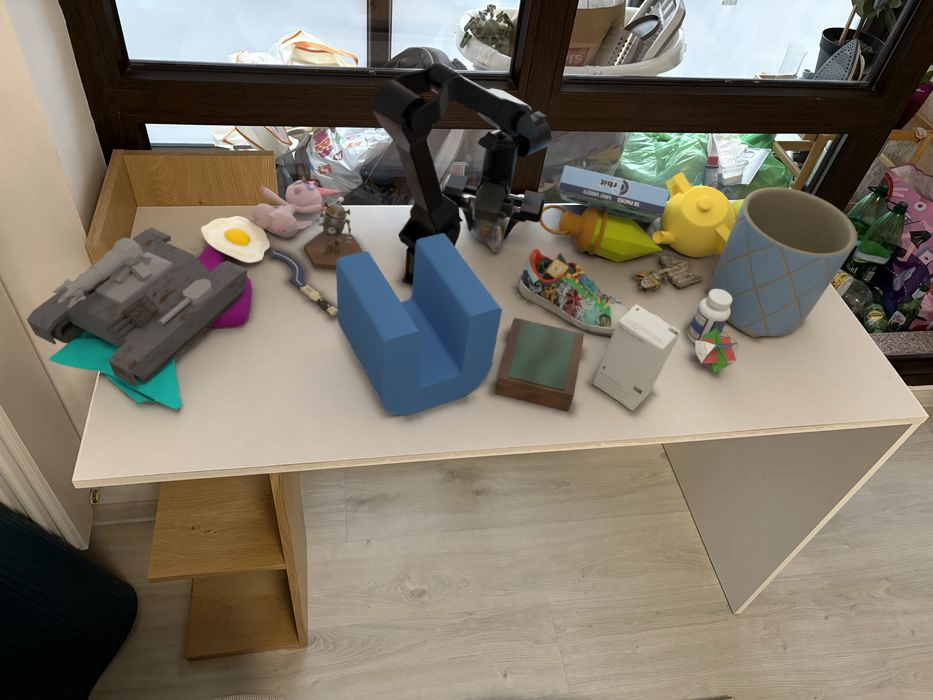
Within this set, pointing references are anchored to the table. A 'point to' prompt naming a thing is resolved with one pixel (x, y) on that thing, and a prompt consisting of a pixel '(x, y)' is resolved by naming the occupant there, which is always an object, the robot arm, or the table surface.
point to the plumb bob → (604, 234)
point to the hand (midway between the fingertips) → (487, 234)
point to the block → (419, 327)
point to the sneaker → (569, 294)
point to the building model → (667, 275)
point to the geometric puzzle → (715, 350)
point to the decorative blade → (296, 280)
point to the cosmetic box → (635, 356)
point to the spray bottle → (242, 307)
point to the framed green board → (540, 364)
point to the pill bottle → (710, 314)
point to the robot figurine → (332, 238)
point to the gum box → (612, 194)
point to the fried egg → (237, 238)
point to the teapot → (695, 219)
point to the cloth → (96, 356)
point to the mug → (490, 232)
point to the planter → (781, 259)
